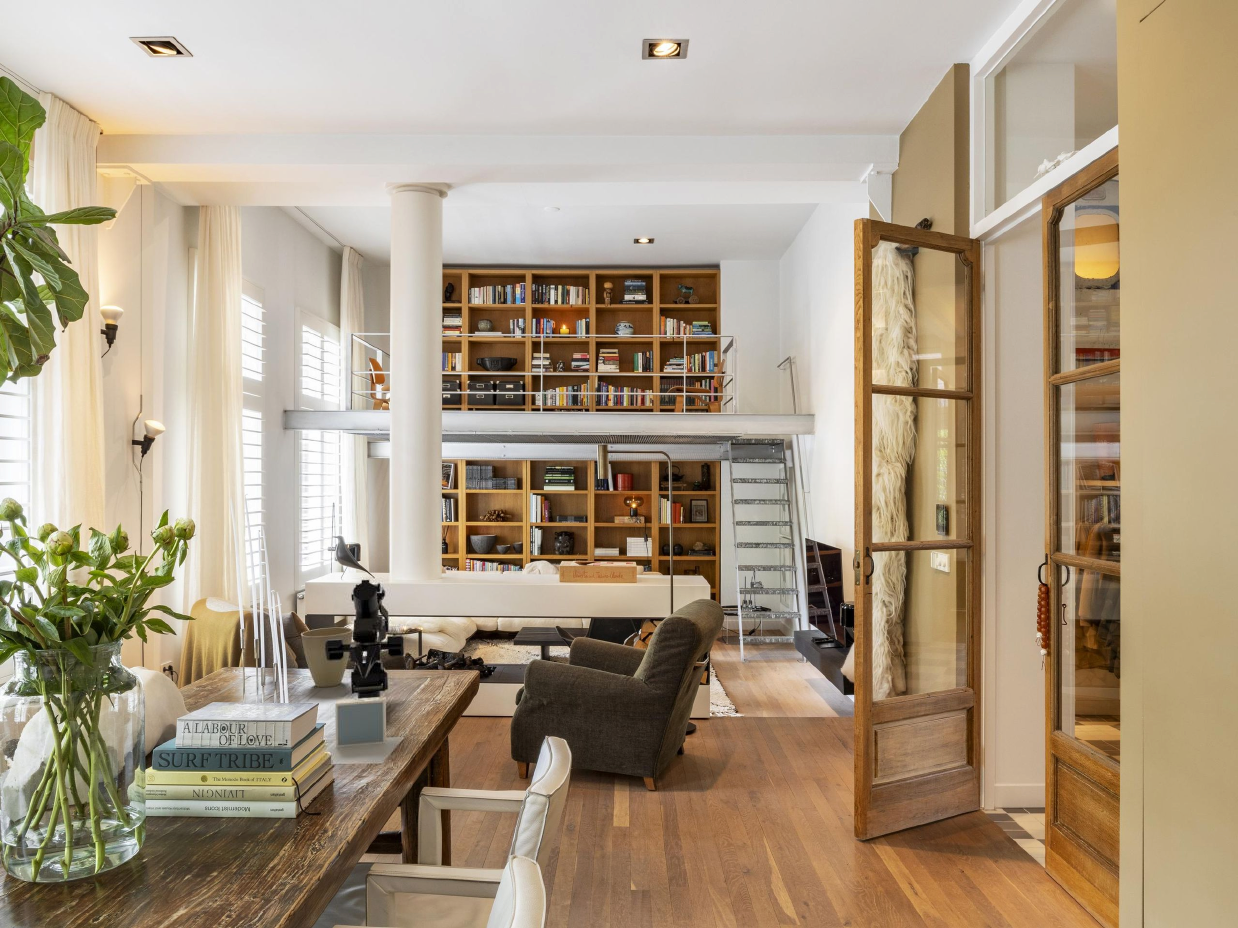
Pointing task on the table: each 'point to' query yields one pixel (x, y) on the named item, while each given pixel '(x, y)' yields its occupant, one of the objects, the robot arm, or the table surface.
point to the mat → (363, 752)
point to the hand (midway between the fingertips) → (363, 676)
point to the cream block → (360, 721)
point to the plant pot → (315, 654)
